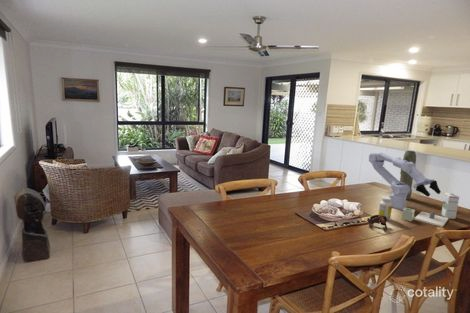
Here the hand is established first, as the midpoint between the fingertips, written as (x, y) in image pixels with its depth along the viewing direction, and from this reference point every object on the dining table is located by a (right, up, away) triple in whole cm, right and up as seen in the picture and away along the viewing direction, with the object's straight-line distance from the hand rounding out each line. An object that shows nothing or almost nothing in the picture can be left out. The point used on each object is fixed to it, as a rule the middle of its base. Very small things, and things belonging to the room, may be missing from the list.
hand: (434, 194), depth 168 cm
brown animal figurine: (-38, -17, -9) cm, 43 cm away
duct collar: (-14, -15, +3) cm, 21 cm away
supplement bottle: (-28, -15, +3) cm, 32 cm away
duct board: (+1, -16, +4) cm, 16 cm away
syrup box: (+15, -15, +10) cm, 24 cm away
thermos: (+8, -8, +44) cm, 45 cm away
